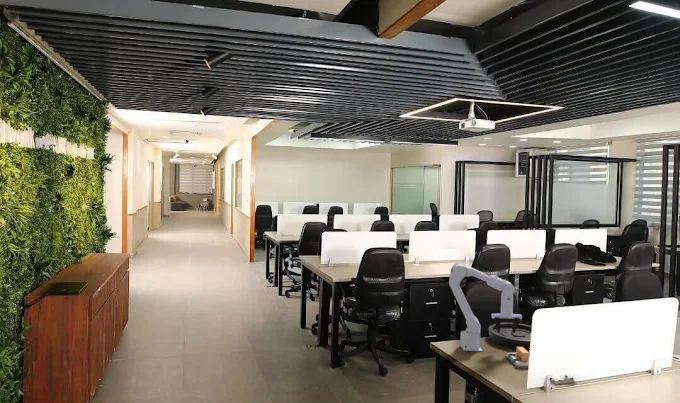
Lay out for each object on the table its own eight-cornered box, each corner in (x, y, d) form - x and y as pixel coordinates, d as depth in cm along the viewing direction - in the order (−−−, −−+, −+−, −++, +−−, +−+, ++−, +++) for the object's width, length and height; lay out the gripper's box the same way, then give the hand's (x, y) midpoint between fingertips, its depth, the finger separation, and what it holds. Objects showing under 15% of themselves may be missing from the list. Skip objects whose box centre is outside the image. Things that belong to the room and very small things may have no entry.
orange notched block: (522, 363, 214) (522, 352, 214) (516, 357, 222) (516, 346, 222) (528, 363, 214) (528, 352, 214) (522, 357, 222) (522, 346, 222)
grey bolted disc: (533, 332, 263) (481, 331, 263) (534, 322, 263) (481, 321, 263) (558, 352, 233) (498, 351, 233) (558, 340, 233) (499, 339, 233)
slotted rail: (516, 368, 212) (516, 362, 211) (507, 357, 225) (507, 352, 224) (538, 368, 211) (538, 363, 211) (527, 357, 224) (527, 352, 224)
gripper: (494, 307, 228) (493, 334, 229) (524, 308, 228) (523, 335, 228) (490, 304, 235) (489, 330, 236) (519, 304, 235) (518, 330, 235)
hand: (505, 332), depth 233 cm, fingers open, 7 cm apart
